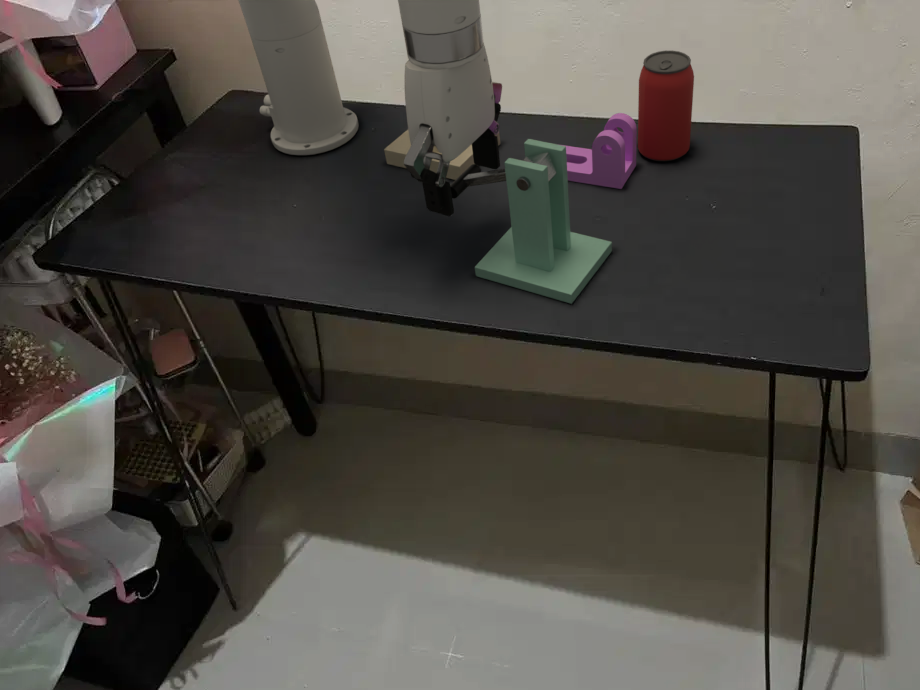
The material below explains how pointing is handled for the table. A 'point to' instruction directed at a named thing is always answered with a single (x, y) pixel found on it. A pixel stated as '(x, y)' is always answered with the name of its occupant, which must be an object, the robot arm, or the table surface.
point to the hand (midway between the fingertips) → (464, 188)
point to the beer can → (665, 105)
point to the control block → (456, 167)
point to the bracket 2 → (606, 155)
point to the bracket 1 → (542, 232)
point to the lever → (495, 174)
